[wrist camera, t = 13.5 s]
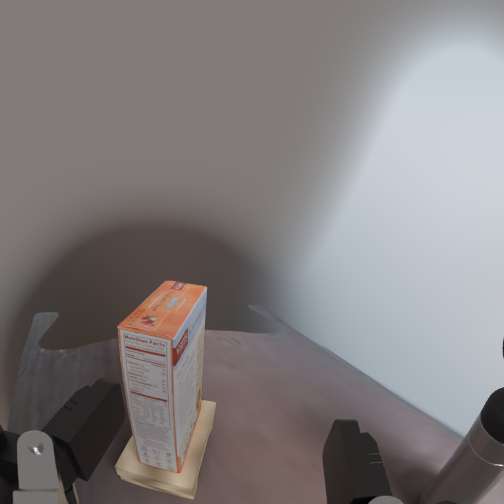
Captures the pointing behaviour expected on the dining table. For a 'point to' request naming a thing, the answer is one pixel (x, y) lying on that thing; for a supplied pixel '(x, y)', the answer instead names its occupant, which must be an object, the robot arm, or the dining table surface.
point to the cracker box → (164, 372)
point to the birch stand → (165, 479)
